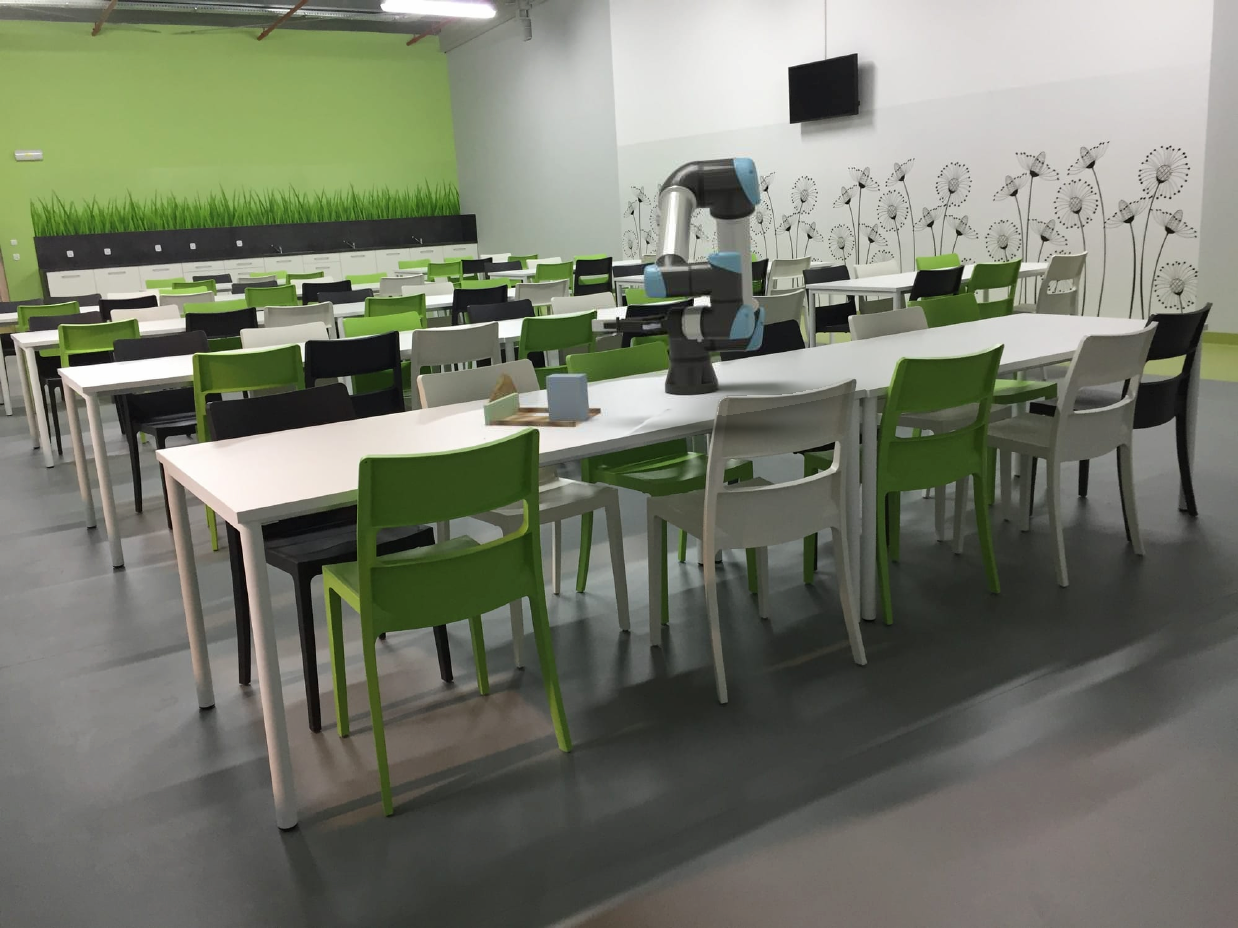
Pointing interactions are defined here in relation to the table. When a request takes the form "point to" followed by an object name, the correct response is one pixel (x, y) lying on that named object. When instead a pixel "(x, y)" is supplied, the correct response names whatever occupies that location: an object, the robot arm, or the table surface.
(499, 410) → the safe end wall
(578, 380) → the block
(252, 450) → the table surface
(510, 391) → the rock
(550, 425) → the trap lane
